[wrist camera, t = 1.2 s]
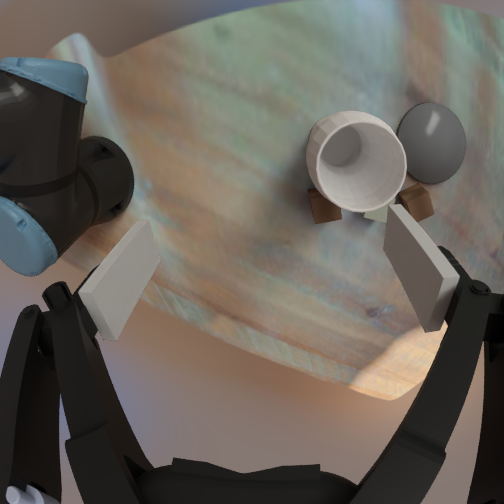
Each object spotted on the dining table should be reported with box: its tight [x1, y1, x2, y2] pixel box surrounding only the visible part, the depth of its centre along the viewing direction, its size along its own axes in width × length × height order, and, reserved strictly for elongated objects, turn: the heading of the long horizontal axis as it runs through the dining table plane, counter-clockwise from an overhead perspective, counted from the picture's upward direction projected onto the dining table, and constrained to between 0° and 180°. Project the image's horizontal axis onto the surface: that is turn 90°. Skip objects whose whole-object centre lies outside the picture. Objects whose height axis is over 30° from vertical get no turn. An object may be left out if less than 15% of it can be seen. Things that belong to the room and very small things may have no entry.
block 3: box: [398, 184, 434, 222], centre depth 40 cm, size 4×4×4 cm
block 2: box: [361, 198, 396, 223], centre depth 41 cm, size 4×4×4 cm
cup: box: [306, 111, 407, 212], centre depth 33 cm, size 11×11×15 cm
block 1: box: [308, 188, 342, 224], centre depth 42 cm, size 4×4×4 cm
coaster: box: [397, 103, 466, 184], centre depth 36 cm, size 13×13×1 cm
